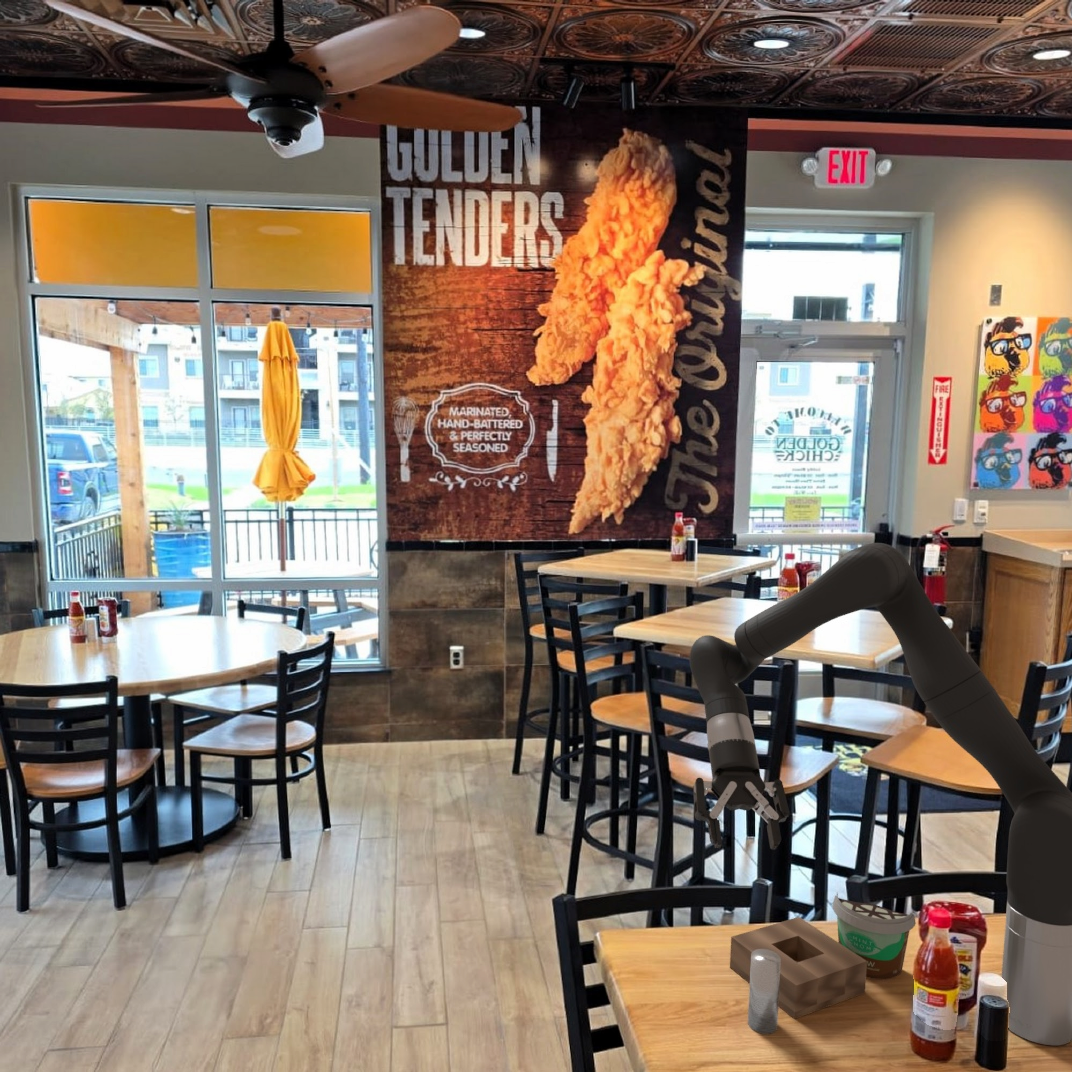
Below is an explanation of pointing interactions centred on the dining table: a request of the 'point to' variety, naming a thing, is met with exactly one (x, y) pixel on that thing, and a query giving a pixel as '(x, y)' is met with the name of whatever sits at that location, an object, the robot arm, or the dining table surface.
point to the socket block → (803, 965)
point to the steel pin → (764, 991)
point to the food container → (874, 935)
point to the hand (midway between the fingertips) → (746, 846)
